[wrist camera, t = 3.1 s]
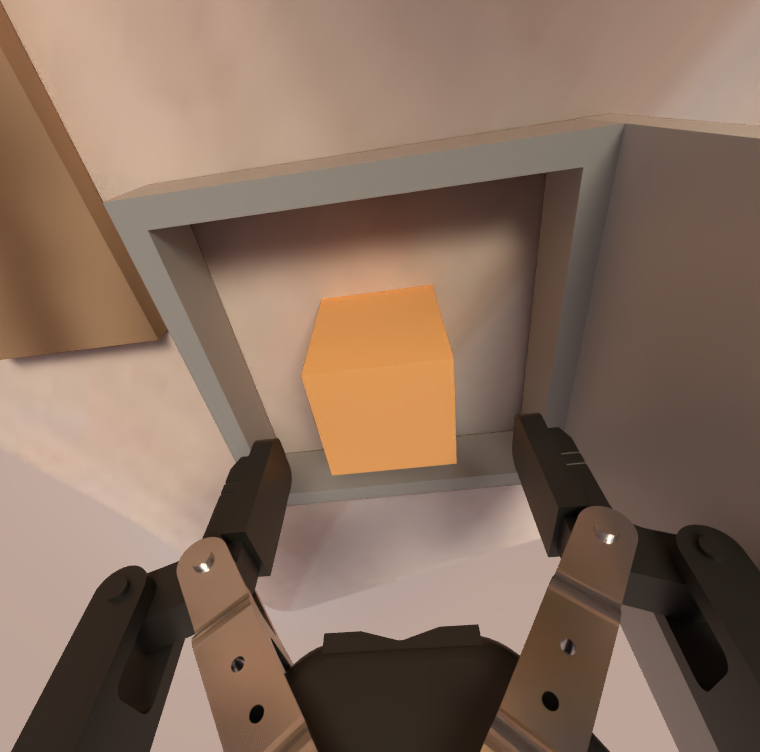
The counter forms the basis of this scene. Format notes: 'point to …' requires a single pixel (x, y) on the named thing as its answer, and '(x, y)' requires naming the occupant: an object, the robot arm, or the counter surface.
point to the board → (57, 232)
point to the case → (543, 322)
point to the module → (382, 382)
